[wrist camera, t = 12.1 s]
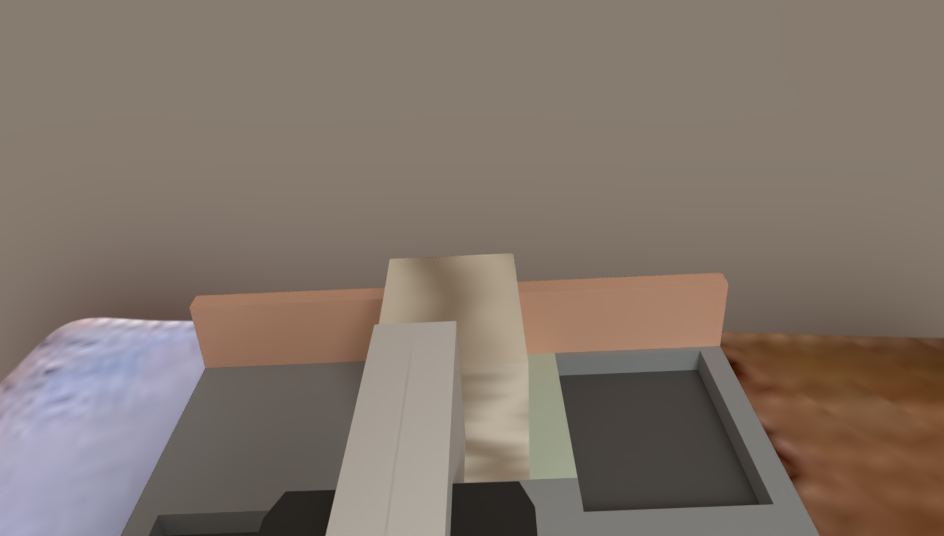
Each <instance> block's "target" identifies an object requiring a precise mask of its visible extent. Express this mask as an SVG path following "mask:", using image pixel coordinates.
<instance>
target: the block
mask: <svg viewBox="0 0 944 536" xmlns="http://www.w3.org/2000/svg"><path fill="white" fill-rule="evenodd" d="M445 321H456V323H457V336H458V348H459V361H460V374H461V386H462V399H463V412H464V424H465V475H464V483H465V482H488V481H510V480H530V464H529V375H528V356H527V349H526V342H525V335H524V327H523V320H522V313H521V306H520V298H519V291H518V284H517V278H516V270H515V262H514V256H513V253H508V254H486V255H467V256H466V255H465V256H445V257H425V258H424V257H423V258H402V259H390V261H389V268H388V273H387V279H386V285H385V291H384V296H383V302H382V308H381V314H380V320H379V324H399V323H422V322H445Z"/></svg>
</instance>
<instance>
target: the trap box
mask: <svg viewBox="0 0 944 536" xmlns="http://www.w3.org/2000/svg"><path fill="white" fill-rule="evenodd" d="M517 284H518V291H519V298H520V306H521V313H522V320H523V327H524V335H525V342H526V349H527V356H528V375H529V464H530V480H510V481H488V482H511V481H519V482H520V484H521V485H522V487H523V488H524V490H525V492H526V493H527V495H528V496H529V498H530V500H531V501H532V503H533V504H534V506H535V511H536V523H537V534H538V536H819V534H818V532H817V530H816V528H815V526H814V524H813V522H812V520H811V518H810V516H809V515H808V513H807V511H806V509H805V507H804V505H803V503H802V501H801V499H800V497H799V496H798V494H797V492H796V490H795V488H794V486H793V484H792V482H791V480H790V478H789V476H788V475H787V473H786V471H785V469H784V467H783V465H782V463H781V461H780V459H779V457H778V456H777V454H776V452H775V450H774V448H773V446H772V444H771V442H770V440H769V438H768V437H767V435H766V433H765V431H764V429H763V427H762V425H761V423H760V421H759V419H758V417H757V416H756V414H755V412H754V410H753V408H752V406H751V404H750V402H749V400H748V398H747V397H746V395H745V393H744V391H743V389H742V387H741V385H740V383H739V381H738V379H737V378H736V376H735V374H734V372H733V370H732V368H731V366H730V364H729V362H728V360H727V358H726V357H725V355H724V353H723V351H722V349H721V347H720V341H721V334H722V327H723V319H724V311H725V305H726V298H727V290H728V282H727V281H726V279H725V277H724V276H723V275H722V273H703V274H682V275H681V274H680V275H657V276H635V277H613V278H590V279H569V280H568V279H567V280H544V281H524V282H523V281H522V282H517ZM384 291H385V288H364V289H341V290H318V291H298V292H297V291H296V292H274V293H252V294H230V295H229V294H228V295H207V296H206V295H205V296H196V298H195V299H194V301H193V302H192V304H191V306H190V311H191V315H192V319H193V323H194V326H195V330H196V334H197V338H198V341H199V345H200V349H201V353H202V356H203V360H204V364H205V370H204V372H203V374H202V376H201V378H200V380H199V382H198V384H197V386H196V388H195V390H194V392H193V394H192V396H191V398H190V400H189V402H188V404H187V406H186V408H185V410H184V412H183V414H182V416H181V418H180V420H179V421H178V423H177V425H176V427H175V429H174V431H173V433H172V435H171V437H170V439H169V441H168V443H167V445H166V447H165V449H164V451H163V453H162V455H161V457H160V459H159V461H158V463H157V465H156V467H155V469H154V471H153V473H152V475H151V477H150V479H149V481H148V483H147V485H146V487H145V489H144V491H143V493H142V495H141V497H140V499H139V501H138V503H137V505H136V507H135V509H134V511H133V513H132V515H131V516H130V518H129V520H128V522H127V524H126V526H125V528H124V530H123V532H122V534H121V536H257V535H258V532H259V529H260V526H261V523H262V520H263V518H264V517H265V515H266V514H267V513H268V512H269V511H270V509H271V508H272V507H273V506H274V505H275V503H276V502H277V501H278V500H279V499H280V497H281V496H282V495H283V494H284V493H285V491H312V490H336V488H337V484H338V480H339V475H340V471H341V467H342V462H343V458H344V454H345V449H346V445H347V441H348V436H349V432H350V428H351V423H352V419H353V415H354V411H355V406H356V402H357V398H358V393H359V389H360V385H361V380H362V376H363V372H364V367H365V363H366V359H367V354H368V350H369V346H370V341H371V337H372V333H373V328H374V325H375V324H379V320H380V314H381V308H382V302H383V296H384ZM465 483H482V482H465Z"/></svg>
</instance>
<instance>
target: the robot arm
mask: <svg viewBox="0 0 944 536" xmlns="http://www.w3.org/2000/svg"><path fill="white" fill-rule="evenodd" d="M464 475H465V424H464V412H463V399H462V386H461V374H460V361H459V348H458V336H457V323H456V321H445V322H422V323H399V324H375V325H374V328H373V333H372V337H371V341H370V346H369V350H368V354H367V359H366V363H365V367H364V372H363V376H362V380H361V385H360V389H359V393H358V398H357V402H356V406H355V411H354V415H353V419H352V423H351V428H350V432H349V436H348V441H347V445H346V449H345V454H344V458H343V462H342V467H341V471H340V475H339V480H338V484H337V488H336V490H312V491H285V493H284V494H283V495H282V496H281V497H280V499H279V500H278V501H277V502H276V503H275V505H274V506H273V507H272V508H271V509H270V511H269V512H268V513H267V514H266V515H265V517H264V518H263V520H262V523H261V526H260V529H259V532H258V535H257V536H538V534H537V523H536V511H535V506H534V504H533V503H532V501H531V500H530V498H529V496H528V495H527V493H526V492H525V490H524V488H523V487H522V485H521V484H520V482H519V481H511V482H482V483H464Z"/></svg>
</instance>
